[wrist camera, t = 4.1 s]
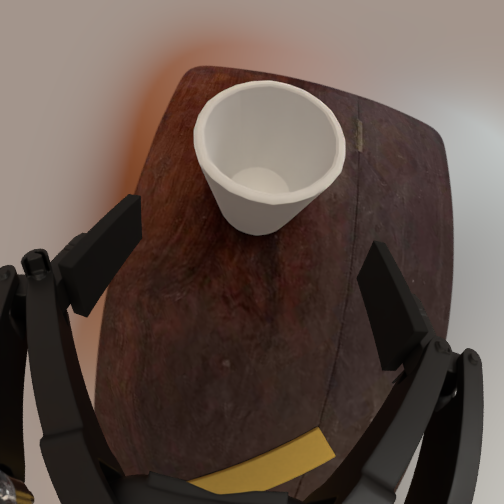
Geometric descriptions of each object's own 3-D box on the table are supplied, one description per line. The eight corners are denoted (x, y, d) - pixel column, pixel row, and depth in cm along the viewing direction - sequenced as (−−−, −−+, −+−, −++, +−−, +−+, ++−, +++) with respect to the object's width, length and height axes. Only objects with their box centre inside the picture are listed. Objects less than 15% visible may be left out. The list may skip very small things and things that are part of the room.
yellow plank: (172, 513, 21) (171, 516, 20) (148, 489, 21) (147, 492, 21) (334, 454, 24) (336, 456, 23) (317, 426, 25) (319, 428, 24)
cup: (236, 266, 27) (238, 234, 15) (193, 184, 28) (169, 109, 16) (320, 221, 29) (374, 166, 16) (273, 148, 30) (294, 67, 17)
